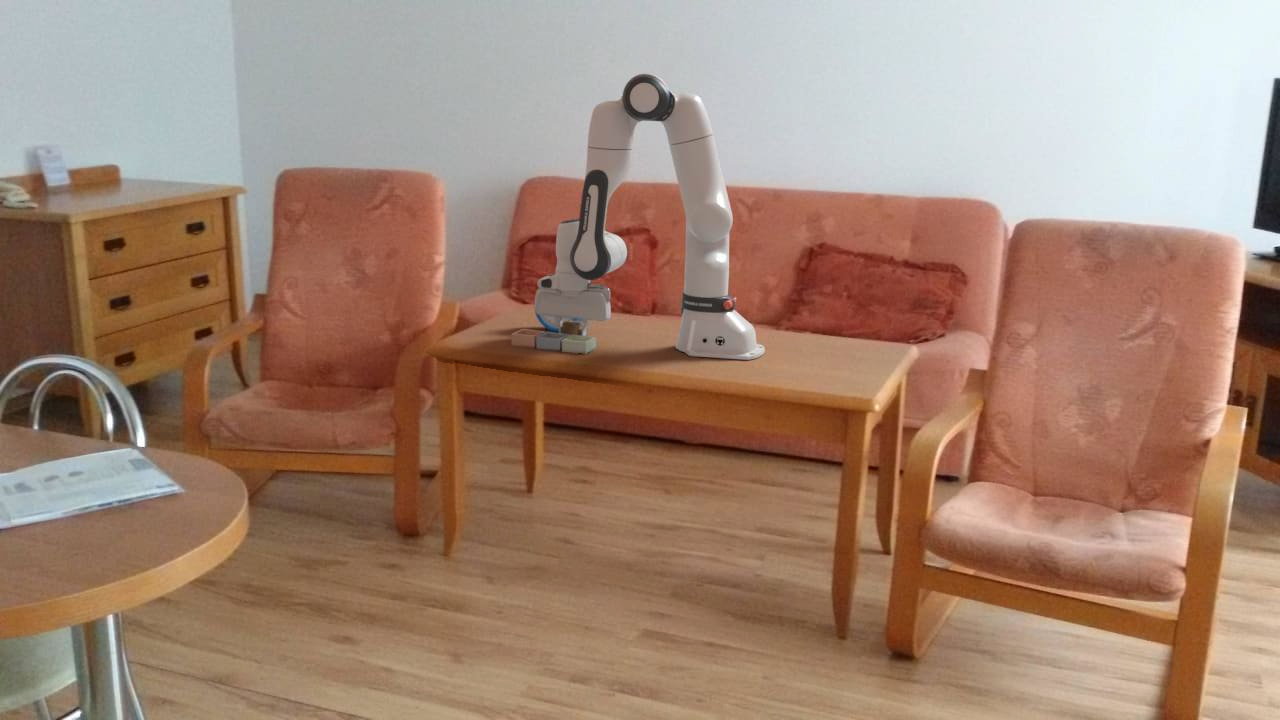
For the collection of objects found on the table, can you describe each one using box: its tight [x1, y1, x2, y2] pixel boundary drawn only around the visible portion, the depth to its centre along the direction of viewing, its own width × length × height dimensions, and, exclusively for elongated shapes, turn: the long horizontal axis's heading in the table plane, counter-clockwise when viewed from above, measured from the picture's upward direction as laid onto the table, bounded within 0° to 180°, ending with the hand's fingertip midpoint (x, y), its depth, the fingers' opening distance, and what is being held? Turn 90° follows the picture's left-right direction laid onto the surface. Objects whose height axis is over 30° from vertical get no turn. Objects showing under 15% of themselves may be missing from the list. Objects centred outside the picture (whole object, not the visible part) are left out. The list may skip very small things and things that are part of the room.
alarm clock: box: [533, 273, 582, 333], centre depth 300 cm, size 13×6×15 cm, turn 71°
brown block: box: [562, 320, 584, 335], centre depth 290 cm, size 4×4×5 cm
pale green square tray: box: [561, 335, 597, 355], centre depth 281 cm, size 6×6×3 cm
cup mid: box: [536, 331, 571, 352], centre depth 283 cm, size 6×6×3 cm
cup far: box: [511, 328, 547, 349], centre depth 286 cm, size 6×6×3 cm
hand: (572, 334), depth 290 cm, fingers closed on brown block, 4 cm apart
